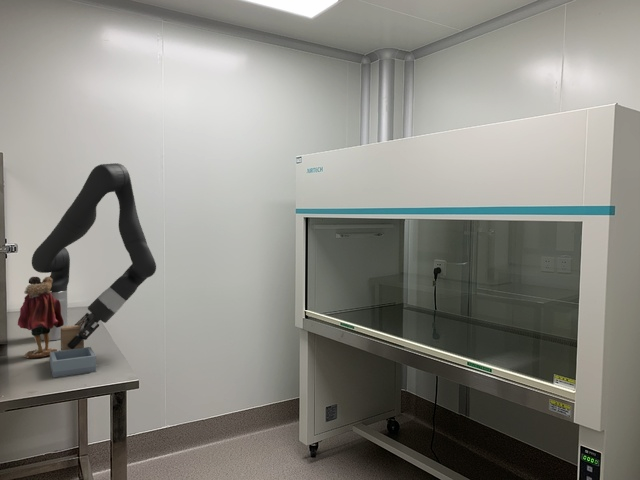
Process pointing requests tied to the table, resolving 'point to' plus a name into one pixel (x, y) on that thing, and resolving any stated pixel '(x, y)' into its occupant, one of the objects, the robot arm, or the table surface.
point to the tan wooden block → (70, 336)
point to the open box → (72, 361)
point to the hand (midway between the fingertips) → (68, 344)
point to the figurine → (40, 314)
